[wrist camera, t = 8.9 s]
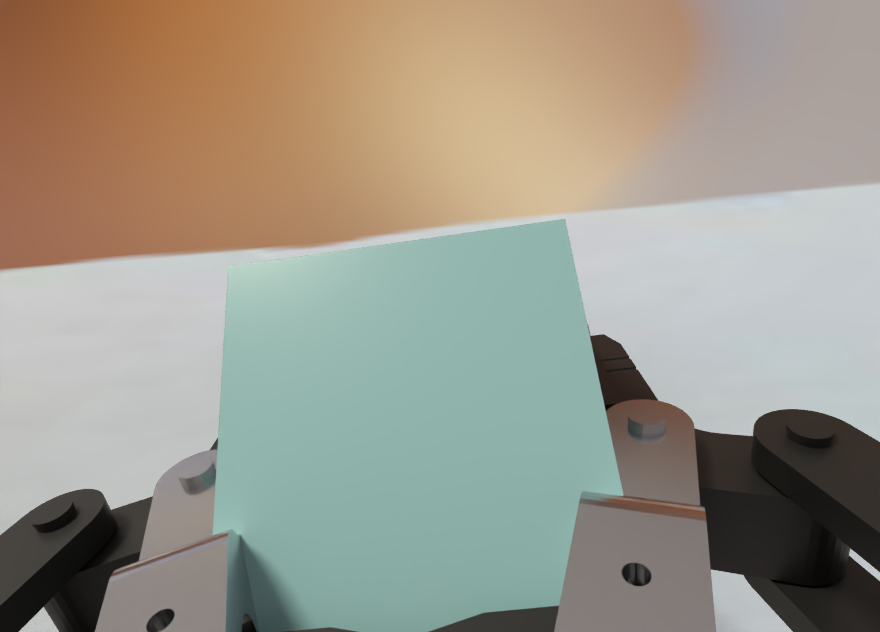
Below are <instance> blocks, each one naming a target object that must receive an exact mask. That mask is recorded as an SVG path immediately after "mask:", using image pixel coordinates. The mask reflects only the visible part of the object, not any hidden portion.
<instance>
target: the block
mask: <svg viewBox="0 0 880 632" xmlns="http://www.w3.org/2000/svg"><path fill="white" fill-rule="evenodd" d="M582 491H589V492H596V493H604V494H611V495H619V496H624V495H623V490H622V486H621V481H620V476H619V472H618V467H617V462H616V457H615V453H614V448H613V443H612V439H611V434H610V429H609V424H608V420H607V415H606V410H605V406H604V401H603V396H602V391H601V387H600V382H599V377H598V373H597V368H596V363H595V358H594V354H593V349H592V344H591V340H590V335H589V330H588V325H587V321H586V316H585V311H584V307H583V302H582V297H581V292H580V288H579V283H578V278H577V274H576V269H575V264H574V259H573V255H572V250H571V245H570V241H569V236H568V231H567V226H566V222H565V219H561V220H554V221H547V222H540V223H533V224H526V225H519V226H512V227H505V228H498V229H491V230H483V231H476V232H469V233H462V234H455V235H448V236H441V237H434V238H427V239H420V240H413V241H405V242H398V243H391V244H384V245H377V246H370V247H363V248H356V249H349V250H342V251H335V252H328V253H320V254H313V255H306V256H299V257H292V258H285V259H278V260H271V261H264V262H257V263H250V264H243V265H235V266H228V276H227V293H226V310H225V328H224V345H223V363H222V380H221V397H220V415H219V432H218V450H217V467H216V484H215V502H214V519H213V535H215V534H218V533H221V532H224V531H227V530H229V529H233V530H234V531H235V532H236V534H237V535H239V534H240V537H241V542H242V547H243V552H244V557H245V562H246V567H247V572H248V577H249V582H250V587H251V592H252V597H253V602H254V607H255V612H256V617H257V622H258V627H259V632H285V631H295V630H306V629H316V628H327V627H333V628H339V629H345V630H351V631H357V632H429V631H432V630H435V629H438V628H441V627H444V626H446V625H449V624H452V623H455V622H458V621H461V620H464V619H467V618H470V617H473V616H476V615H479V614H481V613H486V612H496V611H507V610H517V609H528V608H538V607H549V606H559V604H560V599H561V594H562V588H563V583H564V578H565V573H566V567H567V562H568V557H569V552H570V547H571V541H572V536H573V531H574V526H575V520H576V515H577V510H578V505H579V500H580V496H581V493H582Z"/></svg>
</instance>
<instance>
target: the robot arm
mask: <svg viewBox="0 0 880 632" xmlns="http://www.w3.org/2000/svg"><path fill="white" fill-rule="evenodd" d="M590 340H591V344H592V349H593V354H594V358H595V363H596V368H597V373H598V377H599V382H600V387H601V391H602V396H603V401H604V406H605V410H606V415H607V420H608V424H609V429H610V434H611V439H612V443H613V448H614V453H615V457H616V462H617V467H618V472H619V476H620V481H621V486H622V490H623V495H624V496H619V495H611V494H604V493H596V492H589V491H582V493H581V496H580V500H579V505H578V510H577V515H576V520H575V526H574V531H573V536H572V541H571V547H570V552H569V557H568V562H567V567H566V573H565V578H564V583H563V588H562V594H561V599H560V604H559V606H549V607H538V608H528V609H517V610H507V611H496V612H486V613H481V614H479V615H476V616H473V617H470V618H467V619H464V620H461V621H458V622H455V623H452V624H449V625H446V626H444V627H441V628H438V629H435V630H432V631H429V632H716V627H715V615H714V604H713V592H712V580H711V569H712V570H718V571H724V572H730V573H736V574H742V575H744V576H745V578H746V580H747V581H748V583H749V584H750V585H751V586H752V588H753V589H754V590H755V591H756V592H757V593H758V594H759V595H760V596H761V597H762V598H763V600H764V601H765V602H766V603H767V604H768V605H769V606H770V607H771V608H772V609H773V610H774V611H775V613H776V614H777V615H778V616H779V617H780V618H781V619H782V620H783V621H784V622H785V623H786V625H787V626H788V627H789V628H790V629H791V630H792V631H793V632H880V581H879V580H878V579H876V578H875V577H874V576H873V575H872V574H870V573H869V572H868V571H867V570H866V569H864V568H863V567H862V566H861V565H859V564H858V563H857V562H856V561H855V560H853V559H852V558H851V557H850V556H849V552H850V548H851V549H852V550H853V551H855V552H856V553H857V554H858V555H859V556H861V557H862V558H863V559H864V560H866V561H867V562H868V563H869V564H871V565H872V566H873V567H874V568H875V569H877V570H878V571H879V572H880V442H879V441H877V440H875V439H874V438H872V437H870V436H868V435H867V434H865V433H863V432H862V431H860V430H858V429H857V428H855V427H853V426H851V425H850V424H848V423H846V422H844V421H842V420H840V419H837V418H835V417H832V416H829V415H826V414H823V413H819V412H814V411H808V410H798V409H786V410H777V411H773V412H770V413H767V414H765V415H763V416H761V417H760V418H759V419H758V420H757V421H756V423H755V424H754V431H753V436H742V435H730V434H719V433H711V432H706V431H701V430H698V429H695V428H694V424H693V421H692V419H691V418H690V417H689V416H688V414H686V413H685V412H684V411H683V410H681V409H679V408H678V407H676V406H673V405H671V404H668V403H665V402H661V401H658V399H657V398H656V396H655V395H654V393H653V392H652V390H651V389H650V387H649V386H648V384H647V383H646V381H645V380H644V378H643V377H642V375H641V374H640V372H639V371H638V370H636V366H635V365H634V363H633V362H632V360H631V359H629V356H628V354H627V353H626V351H625V350H624V348H623V347H622V345H621V344H620V343H618V342H616V341H614V340H613V339H611V338H609V337H607V336H606V335H604V334H603V335H595V336H590ZM217 450H218V438H217V440H216V441H215V443H214V444H213V446H212V448H211V449H210V450H209V451H205V452H201V453H198V454H195V455H193V456H191V457H188V458H186V459H184V460H182V461H181V462H179V463H177V464H176V465H174V466H173V467H172V468H170V469H169V470H168V471H167V472H166V473H165V474H164V475H163V476H162V477H161V478H160V479H159V481H158V483H157V484H156V487H155V490H154V494H153V497H150V498H147V499H144V500H140V501H137V502H134V503H131V504H128V505H125V506H122V507H119V508H116V509H112V510H111V509H110V507H109V505H108V503H107V501H106V499H105V497H104V495H103V494H102V493H101V492H100V491H98V490H94V489H82V490H76V491H72V492H69V493H65V494H63V495H60V496H58V497H55V498H53V499H51V500H49V501H47V502H45V503H43V504H41V505H40V506H38V507H36V508H35V509H33V510H32V511H30V512H29V513H28V514H26V515H25V516H24V517H22V518H21V519H20V520H19V521H17V522H16V523H15V524H14V525H13V526H11V527H10V528H9V529H8V530H6V531H5V532H4V533H3V534H1V535H0V632H19V631H20V630H21V629H22V628H23V627H24V626H25V625H26V624H27V623H28V622H29V621H30V620H31V619H32V618H33V617H34V616H35V615H36V614H37V613H38V612H39V611H40V610H41V609H42V608H43V607H44V608H45V609H46V611H47V613H48V614H49V616H50V617H51V619H52V621H53V622H54V624H55V626H56V627H57V629H58V630H59V632H259V627H258V622H257V617H256V612H255V607H254V602H253V597H252V592H251V587H250V582H249V577H248V572H247V567H246V562H245V557H244V552H243V547H242V542H241V537H240V534H239V535H237V534H236V532H235V531H234V530H233V529H229V530H227V531H224V532H221V533H218V534H215V535H213V519H214V502H215V484H216V467H217ZM285 632H357V631H351V630H345V629H339V628H333V627H327V628H316V629H306V630H295V631H285Z"/></svg>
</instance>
